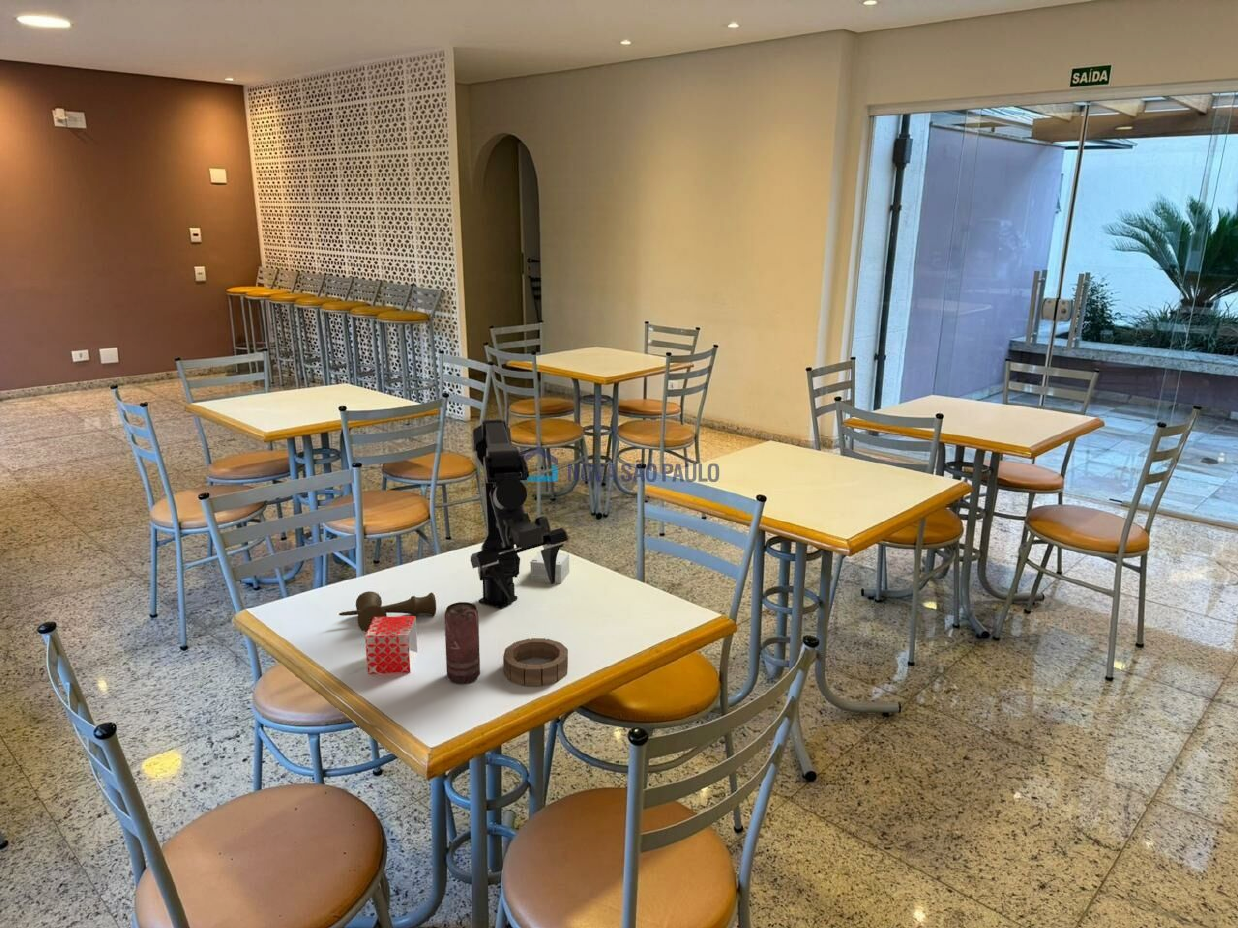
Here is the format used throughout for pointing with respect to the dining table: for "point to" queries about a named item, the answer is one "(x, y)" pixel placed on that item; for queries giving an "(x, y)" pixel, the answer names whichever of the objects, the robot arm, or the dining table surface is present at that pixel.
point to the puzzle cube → (391, 645)
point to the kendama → (389, 607)
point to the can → (462, 642)
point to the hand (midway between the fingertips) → (531, 590)
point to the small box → (540, 571)
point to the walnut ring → (535, 673)
